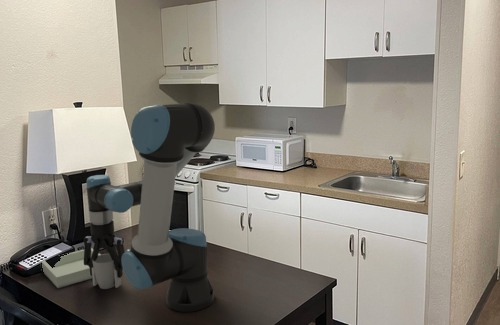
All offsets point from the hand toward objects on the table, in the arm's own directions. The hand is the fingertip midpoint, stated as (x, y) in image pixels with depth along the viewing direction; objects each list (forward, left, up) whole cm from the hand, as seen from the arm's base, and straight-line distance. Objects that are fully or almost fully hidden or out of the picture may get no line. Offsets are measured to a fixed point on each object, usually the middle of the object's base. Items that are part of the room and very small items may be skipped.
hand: (107, 284), depth 157 cm
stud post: (+10, -13, 0) cm, 17 cm away
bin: (+19, +4, 0) cm, 20 cm away
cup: (0, 0, 0) cm, 0 cm away
